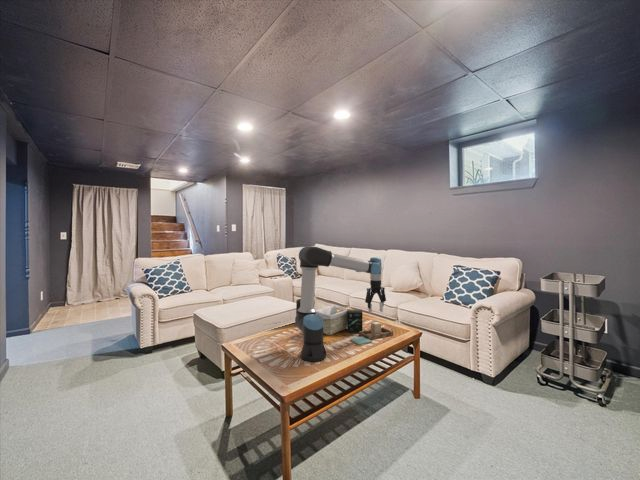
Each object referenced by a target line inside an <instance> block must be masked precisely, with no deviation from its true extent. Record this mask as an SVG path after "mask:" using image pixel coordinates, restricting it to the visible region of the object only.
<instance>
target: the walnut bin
mask: <svg viewBox="0 0 640 480" xmlns="http://www.w3.org/2000/svg"><path fill="white" fill-rule="evenodd" d="M362 336H363V337H365V338H367V339H369V340H371V341H373V340H376V339H380V338H381V339H382V338H386V337H391V336H392V337H393V336H394V331H392V330H390V329H388V328H385V327H381V334H376V335H371V329H367V330H362V331H360V332H359V333H358V337H362Z"/></svg>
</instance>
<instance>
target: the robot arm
mask: <svg viewBox="0 0 640 480" xmlns="http://www.w3.org/2000/svg"><path fill="white" fill-rule="evenodd" d="M298 260H299V268H300V269H301V285H300V286H301V287H300V299H301V301H300V308H299V309H298V312H297V315H296V314H295V319H294V323H295V325H296V327H297V329H298V330H300V332H302V333H303V344H302V348H301V350H300V358H301V359H302V360H304V361H306V362H307V361H308V362H320V361H323V360H325V359H326V358H327V350H326V347H325V344H324V333H323V318H322V317H321V316H319V315H316V310H317V309H314V308H315V304H314V300H315V289H316V287H315V285H316V272H317V270H318V268H319V267H326V268H327V267H328V268H329V267H330V266H331V267H336V268H339V269H346V270H351V271H355V272H356V273H367V274H369V275H370V279H369V281H370V282H369V284H370V287H368V288H366V295H365V300H364V301H365V302H364V303H366V304H367V309H368V314H372V313H373V312H372V311H373V303H372V301H373V298H374V295H376V294H377V295H378V298H379V312H381V313H382V312H384V305H385V304H384V303H386V301H387V297H386V293H385V291H386V290H385V287H383V286H382V269H383V268H382V259H381V257H370V259H369V260H364V259H360V258H356V257H350V256H346V255H341V254H337V253H333V252H332V251H331V250H327V249H323V248H321V247H318V246H311V245H307V246H303V247H302V248H301V249H299V252H298Z"/></svg>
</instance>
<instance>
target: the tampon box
mask: <svg viewBox="0 0 640 480" xmlns="http://www.w3.org/2000/svg"><path fill="white" fill-rule="evenodd" d="M346 329H347V333H356V334H357V333H358V334H359V332H360V331H363V309H359V308H358V309H355V308H353V309H349V308H347V328H346Z"/></svg>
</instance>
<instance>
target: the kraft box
mask: <svg viewBox="0 0 640 480" xmlns="http://www.w3.org/2000/svg"><path fill="white" fill-rule="evenodd" d="M381 328H382V323H380V322H377V321H375V322H370V330H371V335H376V334H381Z"/></svg>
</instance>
